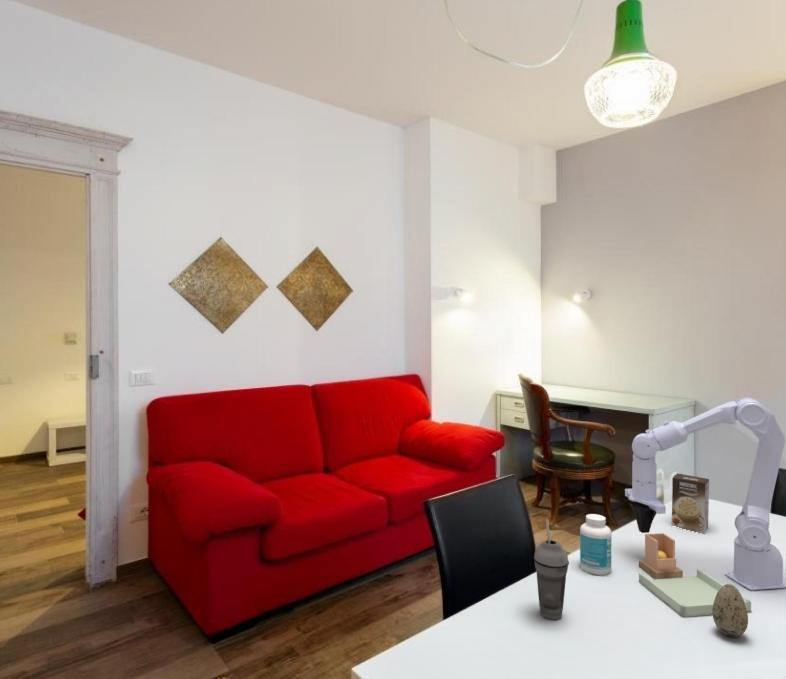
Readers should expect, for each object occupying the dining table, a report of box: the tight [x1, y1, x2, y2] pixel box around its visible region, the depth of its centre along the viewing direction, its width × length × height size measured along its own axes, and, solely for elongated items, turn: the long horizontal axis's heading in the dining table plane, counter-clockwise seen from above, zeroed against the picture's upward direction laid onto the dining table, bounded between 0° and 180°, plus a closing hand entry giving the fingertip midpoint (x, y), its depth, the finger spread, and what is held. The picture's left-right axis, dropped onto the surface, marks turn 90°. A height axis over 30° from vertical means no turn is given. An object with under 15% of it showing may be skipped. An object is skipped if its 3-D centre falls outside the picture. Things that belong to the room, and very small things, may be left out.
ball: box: [658, 551, 667, 559], centre depth 129 cm, size 3×3×3 cm
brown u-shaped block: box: [644, 533, 677, 571], centre depth 129 cm, size 5×5×7 cm
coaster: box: [638, 559, 684, 580], centre depth 129 cm, size 7×7×2 cm
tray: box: [638, 568, 752, 618], centre depth 118 cm, size 16×16×2 cm
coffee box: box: [671, 472, 710, 535], centre depth 157 cm, size 9×6×16 cm
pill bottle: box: [579, 513, 612, 576], centre depth 131 cm, size 8×7×14 cm
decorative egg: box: [712, 583, 749, 638], centre depth 103 cm, size 6×6×10 cm
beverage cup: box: [533, 518, 570, 620], centre depth 111 cm, size 7×7×20 cm
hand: (644, 531), depth 136 cm, fingers closed
